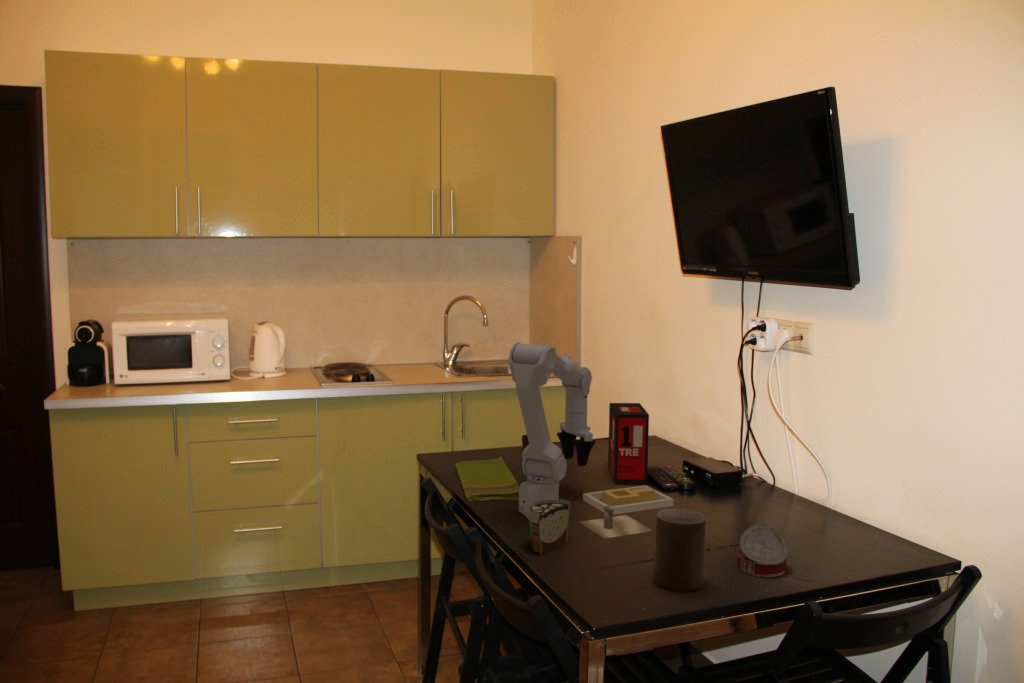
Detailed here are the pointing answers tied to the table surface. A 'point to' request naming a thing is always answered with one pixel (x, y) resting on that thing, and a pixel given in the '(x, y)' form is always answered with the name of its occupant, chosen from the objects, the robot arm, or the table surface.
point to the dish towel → (487, 480)
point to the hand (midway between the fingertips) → (575, 462)
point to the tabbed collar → (627, 496)
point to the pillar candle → (679, 549)
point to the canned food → (762, 550)
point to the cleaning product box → (628, 443)
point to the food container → (548, 523)
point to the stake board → (615, 525)
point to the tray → (659, 503)
